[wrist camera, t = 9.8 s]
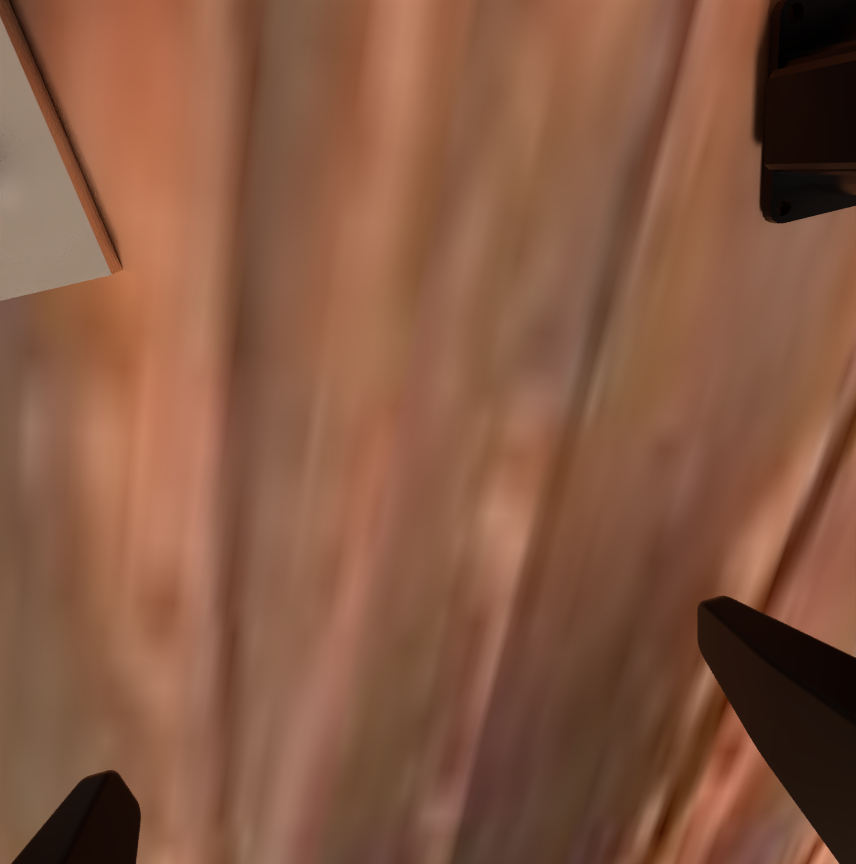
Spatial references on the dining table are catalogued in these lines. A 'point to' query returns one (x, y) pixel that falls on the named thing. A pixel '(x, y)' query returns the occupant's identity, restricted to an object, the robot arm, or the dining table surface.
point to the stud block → (41, 184)
